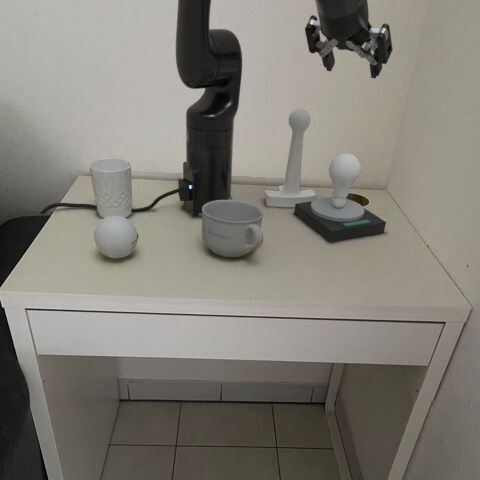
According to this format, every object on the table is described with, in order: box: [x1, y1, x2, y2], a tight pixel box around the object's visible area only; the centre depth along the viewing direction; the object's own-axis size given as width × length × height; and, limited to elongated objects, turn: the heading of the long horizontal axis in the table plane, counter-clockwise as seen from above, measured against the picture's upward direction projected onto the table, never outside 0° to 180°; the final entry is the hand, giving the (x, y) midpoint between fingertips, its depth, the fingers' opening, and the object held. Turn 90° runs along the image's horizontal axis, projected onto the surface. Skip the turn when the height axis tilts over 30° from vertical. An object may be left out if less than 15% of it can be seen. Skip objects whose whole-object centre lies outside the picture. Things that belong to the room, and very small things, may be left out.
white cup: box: [88, 157, 133, 219], centre depth 98 cm, size 8×8×10 cm
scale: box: [293, 196, 387, 243], centre depth 102 cm, size 13×14×3 cm
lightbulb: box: [328, 152, 362, 208], centre depth 98 cm, size 6×6×11 cm
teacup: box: [201, 199, 264, 258], centre depth 87 cm, size 14×11×8 cm
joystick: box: [263, 107, 317, 208], centre depth 106 cm, size 11×8×20 cm
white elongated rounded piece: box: [93, 215, 139, 259], centre depth 86 cm, size 10×7×7 cm
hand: (352, 70), depth 89 cm, fingers open, 8 cm apart
